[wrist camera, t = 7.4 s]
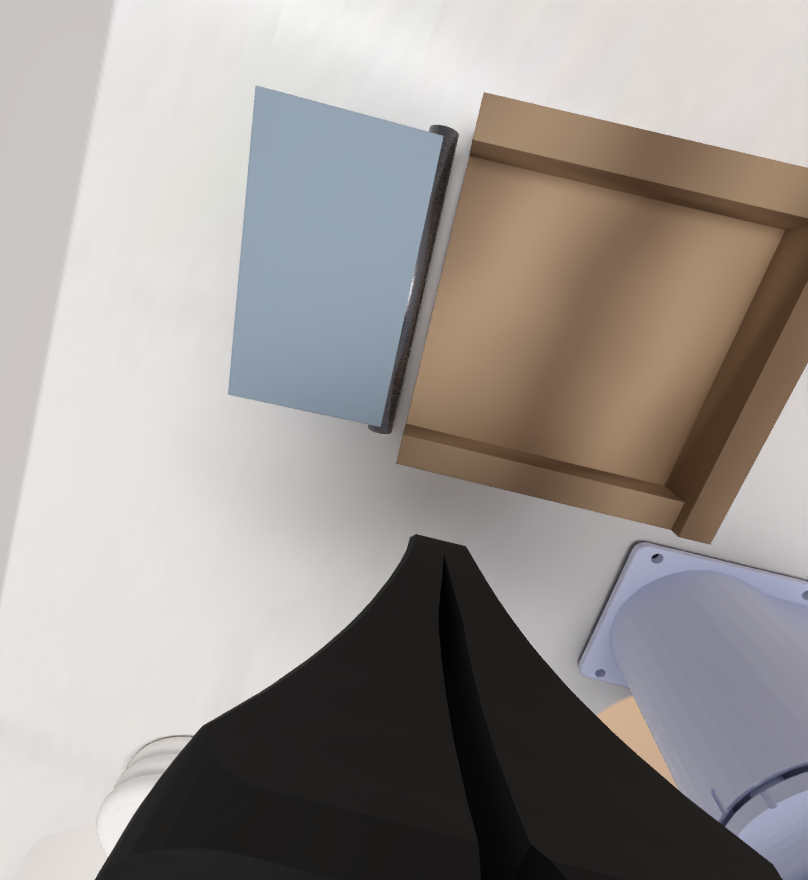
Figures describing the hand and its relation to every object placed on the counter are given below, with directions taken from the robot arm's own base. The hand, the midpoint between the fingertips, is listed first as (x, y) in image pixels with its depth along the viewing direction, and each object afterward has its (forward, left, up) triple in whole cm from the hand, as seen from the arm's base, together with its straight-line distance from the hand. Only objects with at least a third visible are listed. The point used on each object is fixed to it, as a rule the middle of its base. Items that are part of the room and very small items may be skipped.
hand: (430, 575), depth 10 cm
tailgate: (+2, -6, -8) cm, 10 cm away
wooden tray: (-4, -6, -9) cm, 12 cm away
